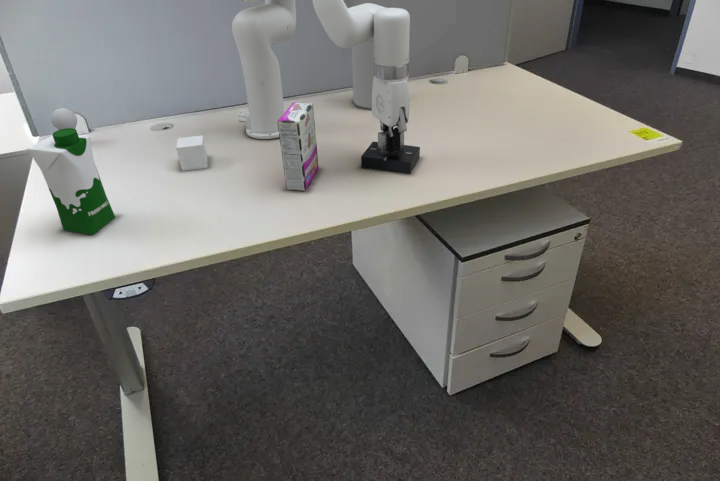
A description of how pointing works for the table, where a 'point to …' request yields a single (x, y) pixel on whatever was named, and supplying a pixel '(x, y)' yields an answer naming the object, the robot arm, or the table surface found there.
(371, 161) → the panel
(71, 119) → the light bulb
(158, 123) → the table surface
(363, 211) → the table surface
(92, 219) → the milk carton
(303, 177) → the candy bar box
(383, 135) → the tap handle
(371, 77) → the cylinder vase
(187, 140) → the white cube
